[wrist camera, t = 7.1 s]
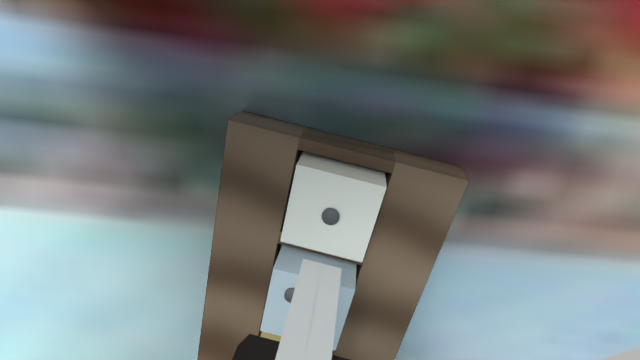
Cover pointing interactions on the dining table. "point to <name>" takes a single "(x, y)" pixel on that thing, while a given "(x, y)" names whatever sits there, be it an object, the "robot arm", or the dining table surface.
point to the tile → (333, 206)
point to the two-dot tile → (286, 281)
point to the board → (264, 246)
